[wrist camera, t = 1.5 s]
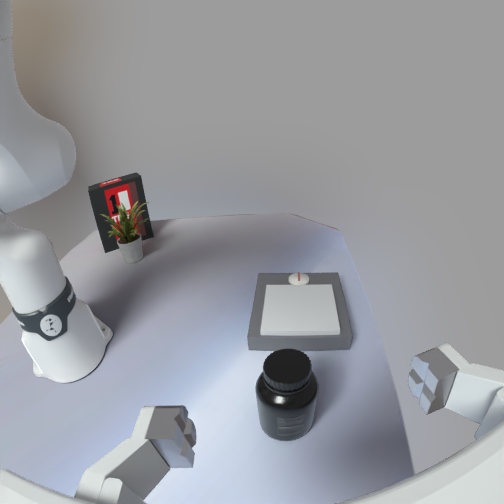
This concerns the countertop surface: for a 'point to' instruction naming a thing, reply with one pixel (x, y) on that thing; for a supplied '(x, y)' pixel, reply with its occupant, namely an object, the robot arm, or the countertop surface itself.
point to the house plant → (128, 234)
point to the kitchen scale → (299, 313)
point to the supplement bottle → (287, 394)
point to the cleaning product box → (110, 197)
